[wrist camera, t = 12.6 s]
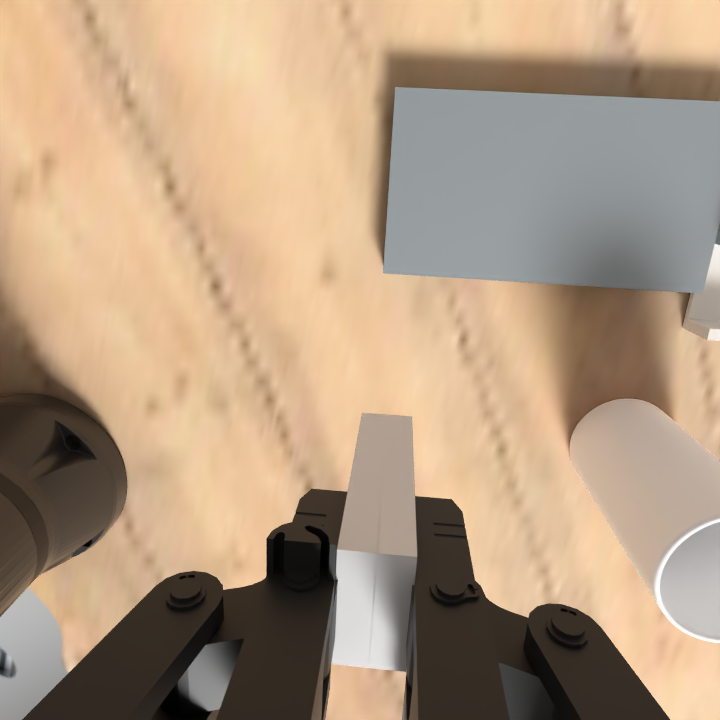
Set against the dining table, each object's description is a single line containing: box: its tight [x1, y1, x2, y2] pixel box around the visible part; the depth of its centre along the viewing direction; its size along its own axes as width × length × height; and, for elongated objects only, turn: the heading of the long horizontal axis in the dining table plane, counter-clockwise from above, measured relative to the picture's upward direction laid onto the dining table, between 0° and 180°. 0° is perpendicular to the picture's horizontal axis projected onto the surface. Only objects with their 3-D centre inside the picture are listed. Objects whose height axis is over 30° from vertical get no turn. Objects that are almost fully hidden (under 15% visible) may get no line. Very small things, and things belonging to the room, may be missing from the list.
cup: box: [569, 398, 720, 643], centre depth 36 cm, size 8×8×16 cm
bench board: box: [383, 87, 720, 294], centre depth 38 cm, size 22×12×2 cm, turn 87°
